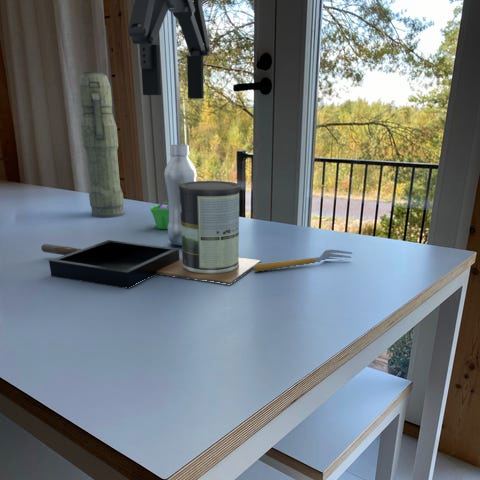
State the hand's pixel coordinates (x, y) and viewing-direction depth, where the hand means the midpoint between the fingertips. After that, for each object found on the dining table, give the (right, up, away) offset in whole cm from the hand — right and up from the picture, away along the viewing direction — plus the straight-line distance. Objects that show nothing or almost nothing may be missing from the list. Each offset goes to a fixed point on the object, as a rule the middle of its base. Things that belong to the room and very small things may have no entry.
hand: (175, 97), depth 77 cm
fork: (+22, -26, +10) cm, 36 cm away
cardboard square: (+5, -27, +9) cm, 29 cm away
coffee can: (+5, -26, +8) cm, 28 cm away
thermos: (-26, -7, +55) cm, 61 cm away
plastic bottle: (-2, -20, +24) cm, 32 cm away
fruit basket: (-5, -13, +41) cm, 43 cm away
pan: (-16, -26, +10) cm, 32 cm away
